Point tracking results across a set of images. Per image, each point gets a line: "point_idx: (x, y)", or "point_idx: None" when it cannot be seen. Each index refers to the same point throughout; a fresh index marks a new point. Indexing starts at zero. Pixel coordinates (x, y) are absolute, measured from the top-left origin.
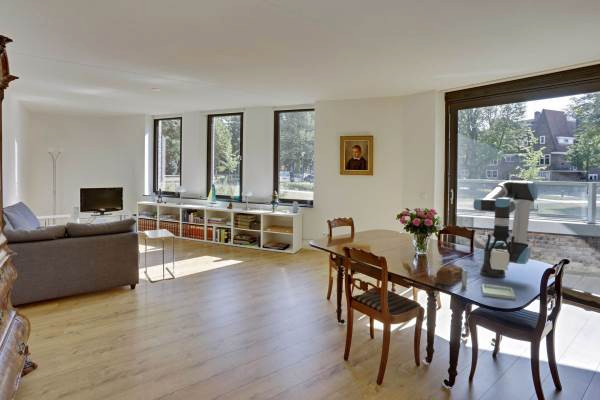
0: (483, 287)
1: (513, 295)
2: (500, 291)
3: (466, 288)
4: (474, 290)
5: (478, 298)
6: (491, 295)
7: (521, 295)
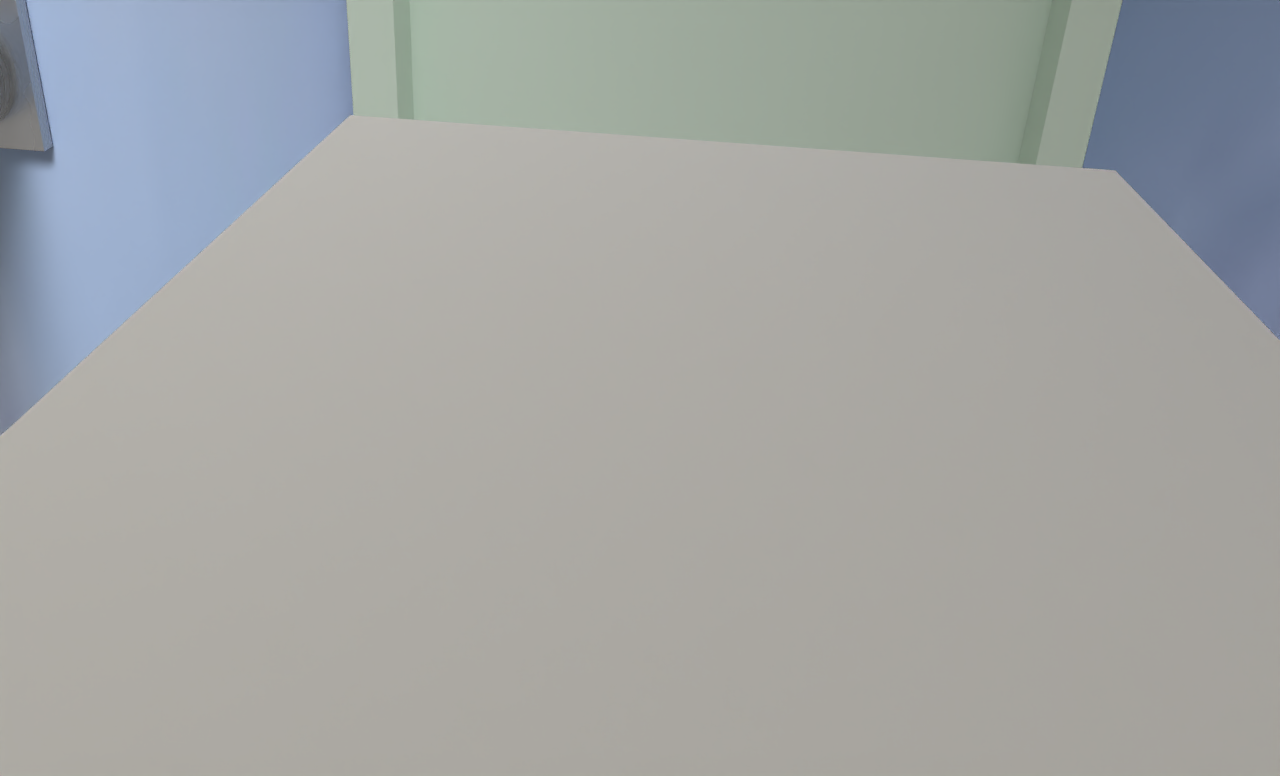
0: (376, 53)
1: None
2: (797, 33)
3: (9, 45)
4: (203, 78)
5: None
6: None
7: (1267, 88)
